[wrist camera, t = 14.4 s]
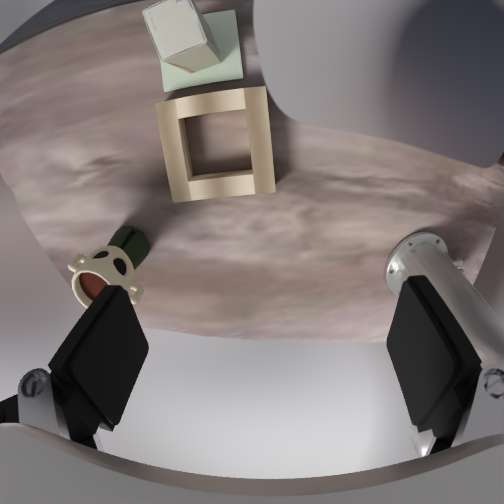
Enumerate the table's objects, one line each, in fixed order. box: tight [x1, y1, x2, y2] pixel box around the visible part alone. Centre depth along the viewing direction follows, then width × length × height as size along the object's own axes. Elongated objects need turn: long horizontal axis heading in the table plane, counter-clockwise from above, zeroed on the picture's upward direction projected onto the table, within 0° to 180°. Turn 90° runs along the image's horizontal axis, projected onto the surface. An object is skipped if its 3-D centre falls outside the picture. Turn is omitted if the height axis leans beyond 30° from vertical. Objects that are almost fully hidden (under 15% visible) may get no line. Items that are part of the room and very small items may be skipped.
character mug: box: [68, 227, 149, 308], centre depth 35 cm, size 11×7×13 cm, turn 61°
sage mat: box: [160, 10, 243, 92], centre depth 27 cm, size 10×10×1 cm
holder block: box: [156, 86, 276, 203], centre depth 32 cm, size 13×13×3 cm
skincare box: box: [143, 0, 222, 74], centre depth 22 cm, size 6×4×12 cm
